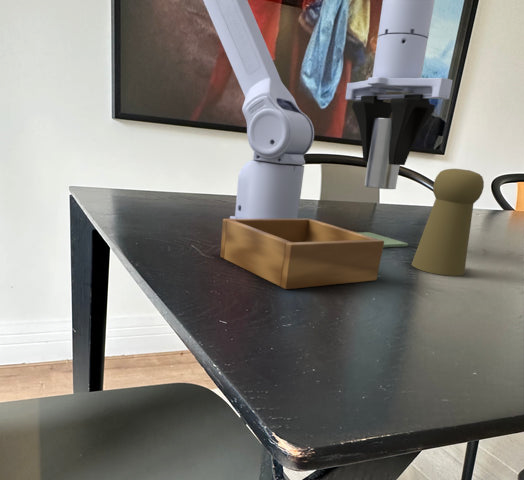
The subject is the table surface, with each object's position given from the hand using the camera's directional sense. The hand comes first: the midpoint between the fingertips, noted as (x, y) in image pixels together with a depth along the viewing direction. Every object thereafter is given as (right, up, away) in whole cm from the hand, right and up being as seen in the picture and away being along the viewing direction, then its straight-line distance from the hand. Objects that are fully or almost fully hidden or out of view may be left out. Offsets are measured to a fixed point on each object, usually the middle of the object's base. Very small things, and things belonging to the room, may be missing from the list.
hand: (383, 163), depth 63 cm
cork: (+5, -14, -5) cm, 16 cm away
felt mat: (0, -8, +7) cm, 11 cm away
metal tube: (0, -3, +1) cm, 3 cm away
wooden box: (-12, -15, -12) cm, 23 cm away
